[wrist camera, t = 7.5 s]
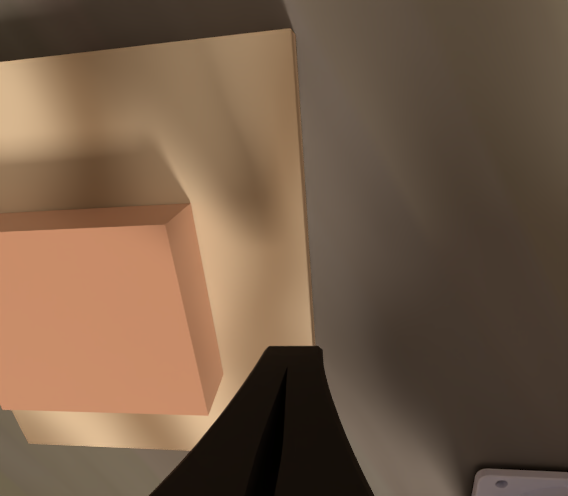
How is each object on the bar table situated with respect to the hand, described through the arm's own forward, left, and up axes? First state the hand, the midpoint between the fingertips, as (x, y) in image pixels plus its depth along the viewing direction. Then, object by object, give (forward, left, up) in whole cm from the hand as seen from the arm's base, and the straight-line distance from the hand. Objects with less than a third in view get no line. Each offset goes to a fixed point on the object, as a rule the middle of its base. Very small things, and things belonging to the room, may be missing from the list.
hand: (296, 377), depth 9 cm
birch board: (+7, 0, -5) cm, 9 cm away
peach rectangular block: (+3, 0, -3) cm, 4 cm away
